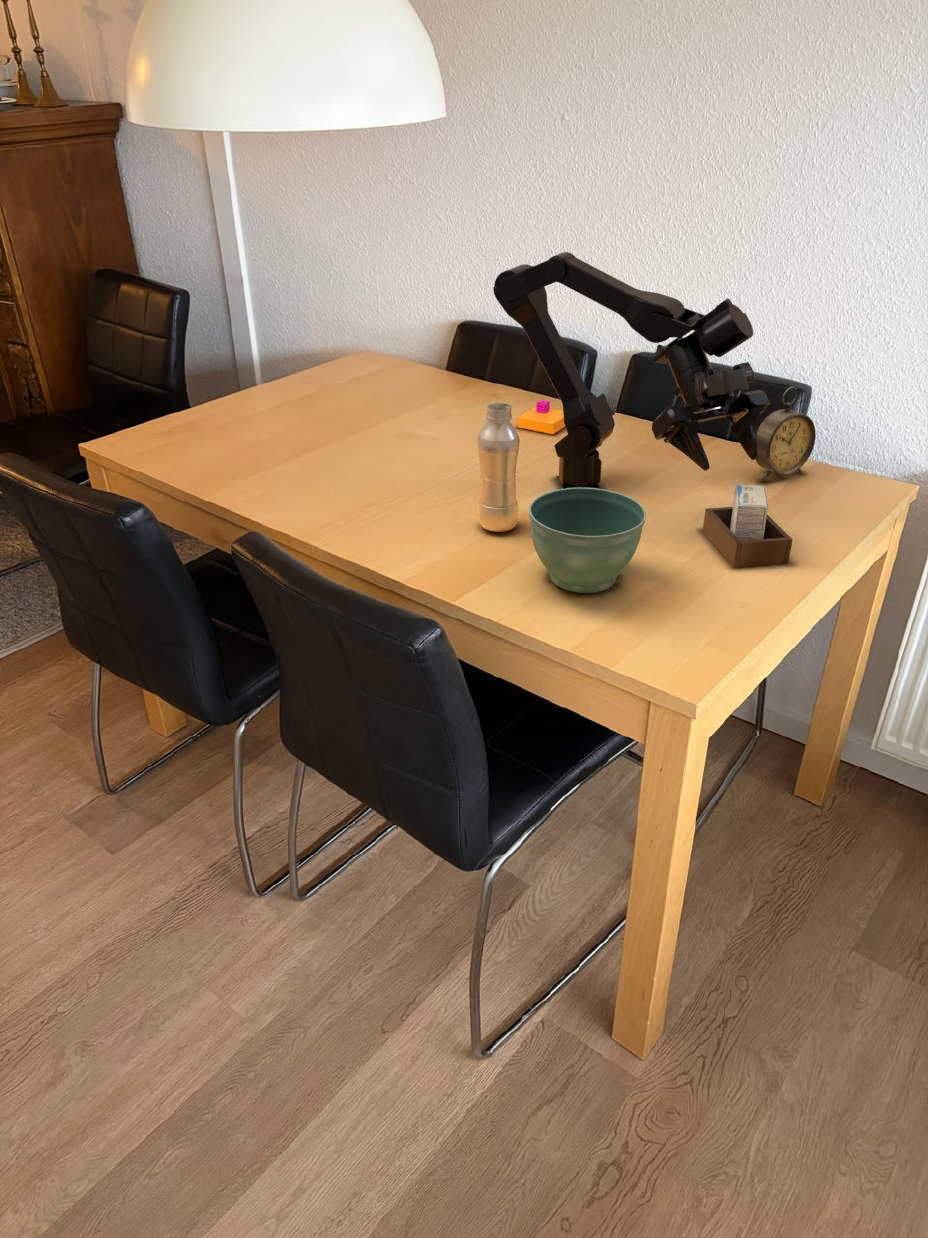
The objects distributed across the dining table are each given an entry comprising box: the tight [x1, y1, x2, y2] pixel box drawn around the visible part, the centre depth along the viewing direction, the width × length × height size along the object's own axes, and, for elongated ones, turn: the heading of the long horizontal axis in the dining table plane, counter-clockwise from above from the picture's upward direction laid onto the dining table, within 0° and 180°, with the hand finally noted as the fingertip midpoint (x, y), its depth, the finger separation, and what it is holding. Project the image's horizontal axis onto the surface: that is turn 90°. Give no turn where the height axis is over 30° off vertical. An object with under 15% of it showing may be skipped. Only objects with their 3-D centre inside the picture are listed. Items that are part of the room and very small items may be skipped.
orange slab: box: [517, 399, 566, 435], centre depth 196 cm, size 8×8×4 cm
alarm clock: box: [754, 386, 817, 483], centre depth 170 cm, size 11×5×16 cm, turn 118°
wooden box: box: [702, 506, 793, 569], centre depth 149 cm, size 9×13×4 cm
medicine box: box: [730, 484, 769, 541], centre depth 148 cm, size 8×4×9 cm, turn 168°
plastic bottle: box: [476, 402, 521, 533], centre depth 151 cm, size 6×7×20 cm
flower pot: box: [528, 487, 647, 594], centre depth 138 cm, size 16×16×11 cm
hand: (731, 464), depth 148 cm, fingers open, 9 cm apart
